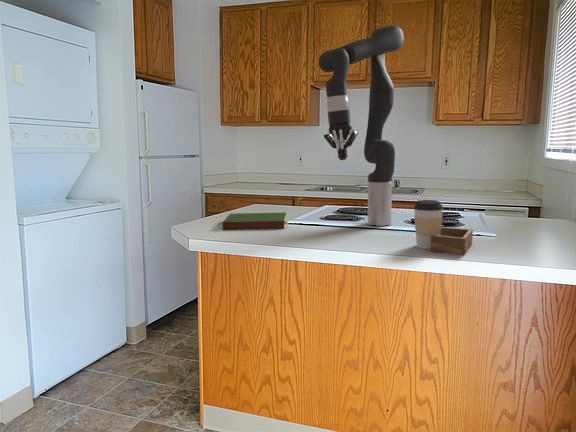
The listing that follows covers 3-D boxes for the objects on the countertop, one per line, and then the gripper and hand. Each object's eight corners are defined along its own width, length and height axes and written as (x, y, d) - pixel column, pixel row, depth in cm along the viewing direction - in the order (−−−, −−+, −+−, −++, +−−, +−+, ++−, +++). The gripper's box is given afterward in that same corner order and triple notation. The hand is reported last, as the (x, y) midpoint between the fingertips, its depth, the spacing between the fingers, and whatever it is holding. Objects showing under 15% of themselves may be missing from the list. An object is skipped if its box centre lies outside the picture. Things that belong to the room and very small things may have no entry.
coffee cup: (442, 243, 154) (443, 198, 152) (442, 250, 146) (443, 202, 143) (413, 242, 157) (414, 198, 154) (412, 249, 149) (413, 202, 146)
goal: (440, 241, 157) (440, 227, 156) (472, 244, 152) (472, 229, 151) (430, 251, 145) (431, 235, 144) (464, 255, 140) (465, 238, 139)
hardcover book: (223, 231, 185) (222, 222, 185) (230, 222, 204) (230, 213, 203) (286, 230, 184) (285, 220, 183) (288, 220, 203) (287, 212, 202)
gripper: (360, 107, 161) (364, 157, 164) (327, 111, 169) (332, 159, 172) (350, 107, 155) (354, 160, 158) (316, 112, 163) (321, 162, 166)
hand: (342, 159), depth 165 cm, fingers closed
